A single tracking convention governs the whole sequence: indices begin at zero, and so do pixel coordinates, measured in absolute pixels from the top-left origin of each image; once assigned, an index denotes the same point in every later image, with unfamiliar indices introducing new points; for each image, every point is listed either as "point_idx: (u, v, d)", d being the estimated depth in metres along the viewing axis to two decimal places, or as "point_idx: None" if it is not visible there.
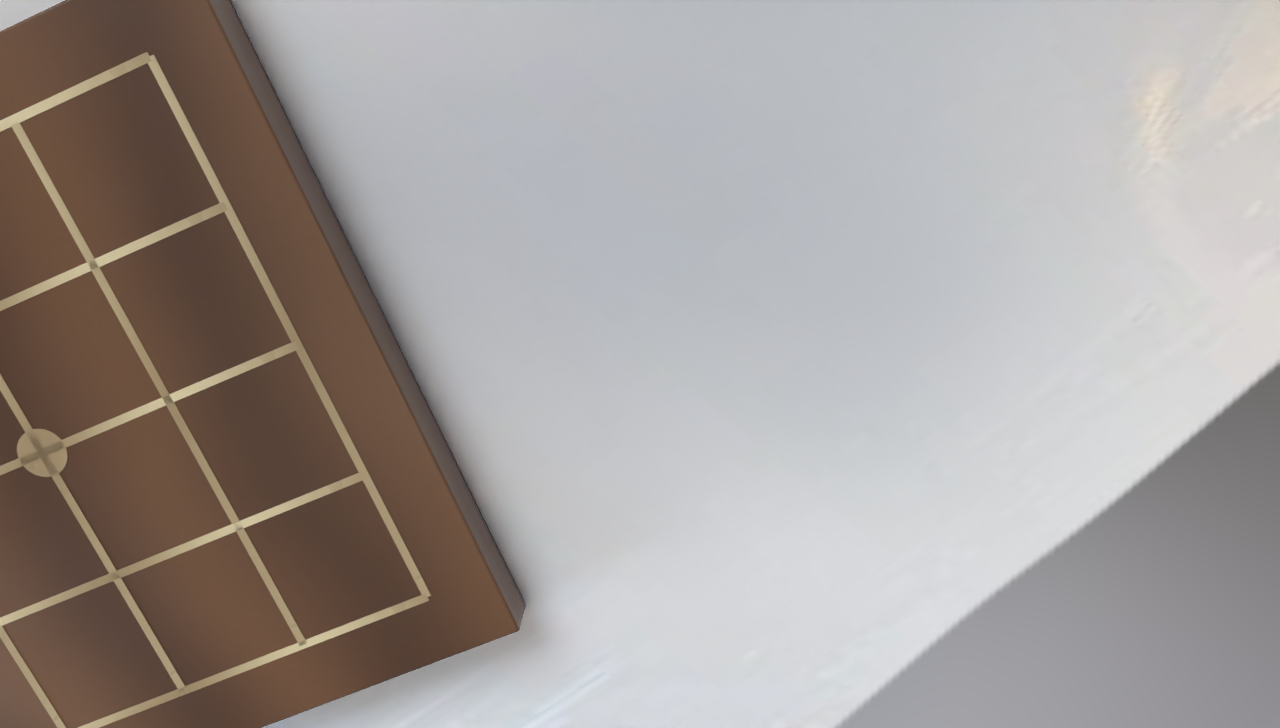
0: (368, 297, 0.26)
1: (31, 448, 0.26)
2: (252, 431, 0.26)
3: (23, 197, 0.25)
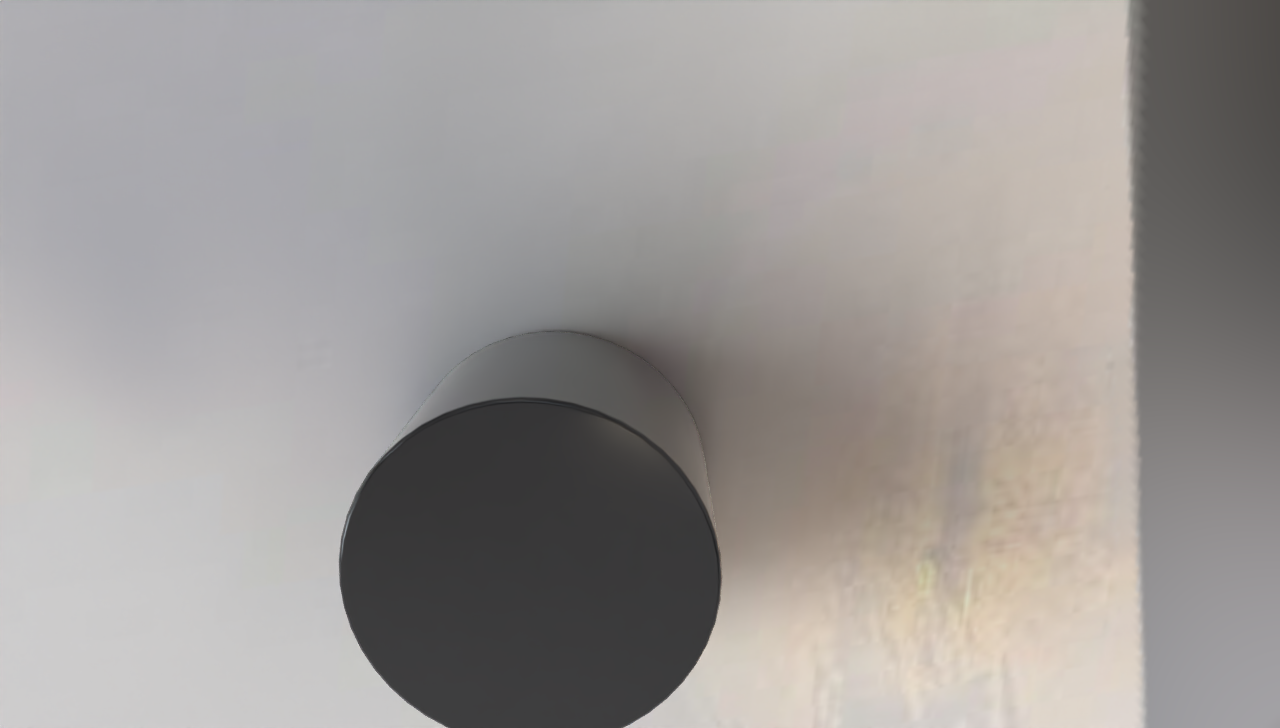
0: None
1: None
2: None
3: None
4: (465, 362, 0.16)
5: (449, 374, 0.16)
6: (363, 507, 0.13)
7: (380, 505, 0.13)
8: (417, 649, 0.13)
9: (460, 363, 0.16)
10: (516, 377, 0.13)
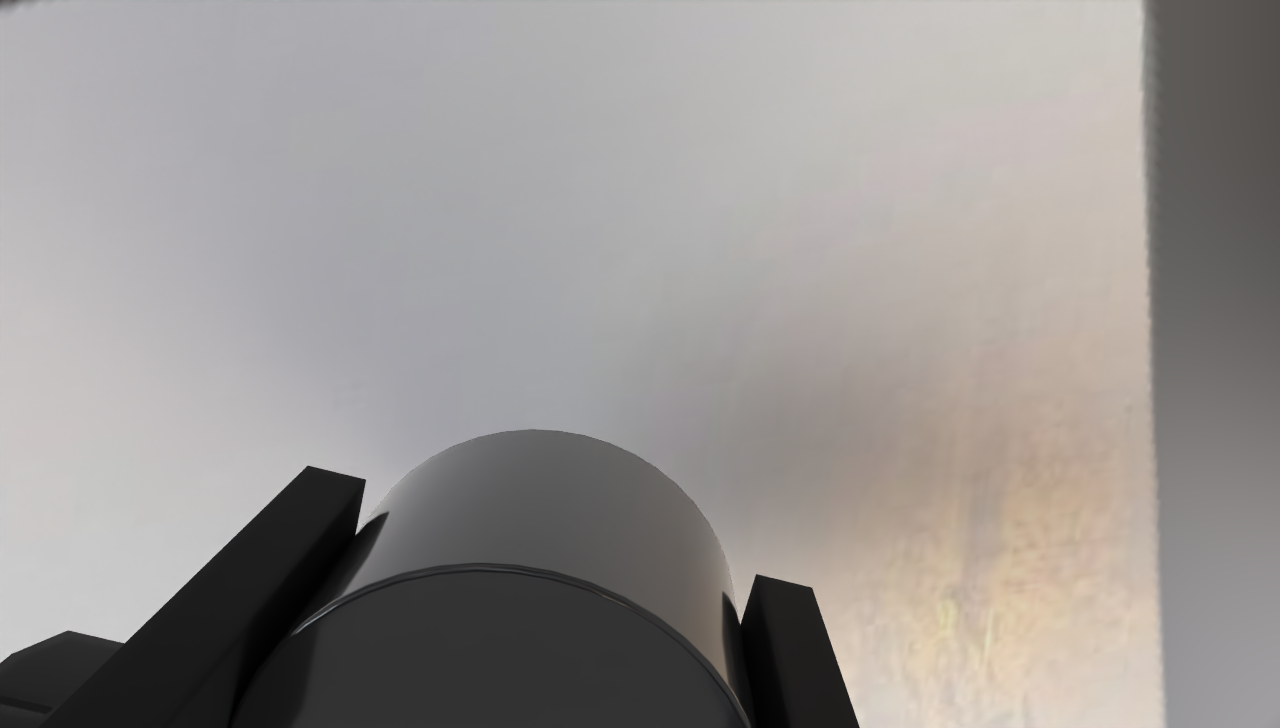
0: None
1: None
2: None
3: None
4: (417, 473, 0.12)
5: (396, 489, 0.12)
6: (250, 716, 0.09)
7: (274, 714, 0.09)
8: None
9: (412, 471, 0.12)
10: (476, 520, 0.09)
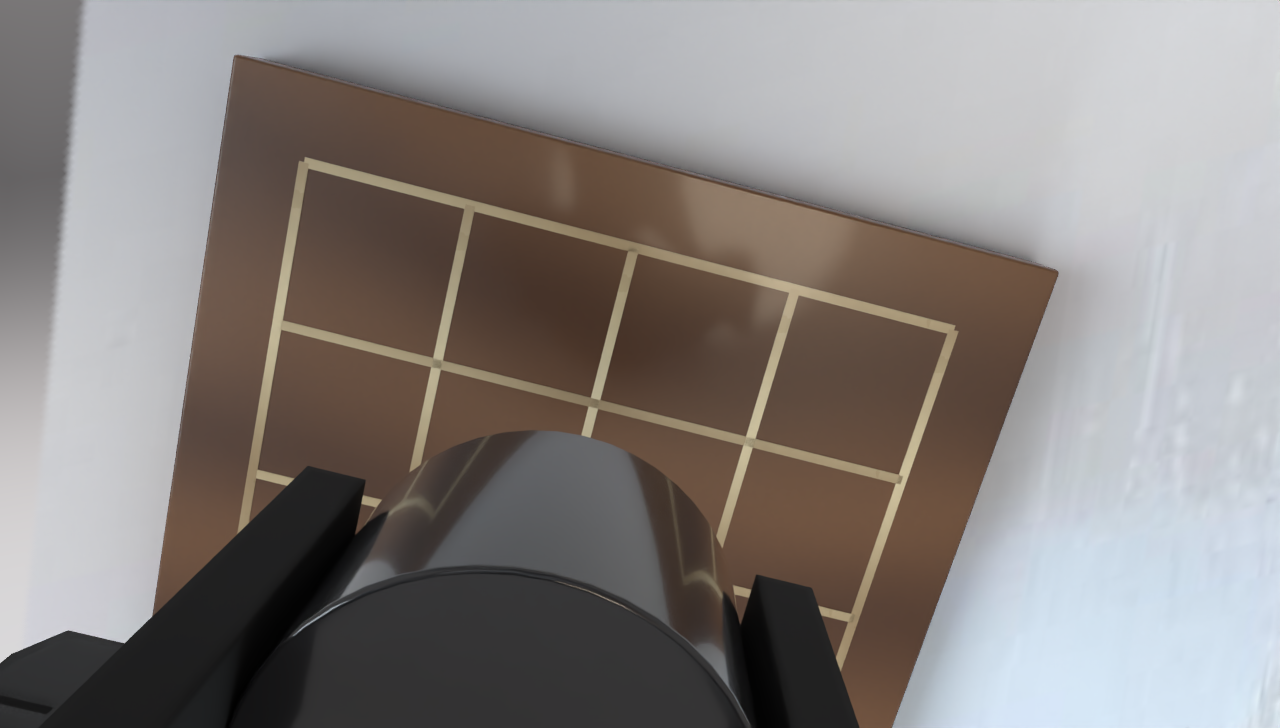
0: (640, 159, 0.23)
1: None
2: (677, 355, 0.23)
3: (342, 371, 0.24)
4: (416, 474, 0.12)
5: (395, 490, 0.12)
6: (249, 718, 0.09)
7: (272, 715, 0.09)
8: None
9: (411, 472, 0.12)
10: (475, 522, 0.09)
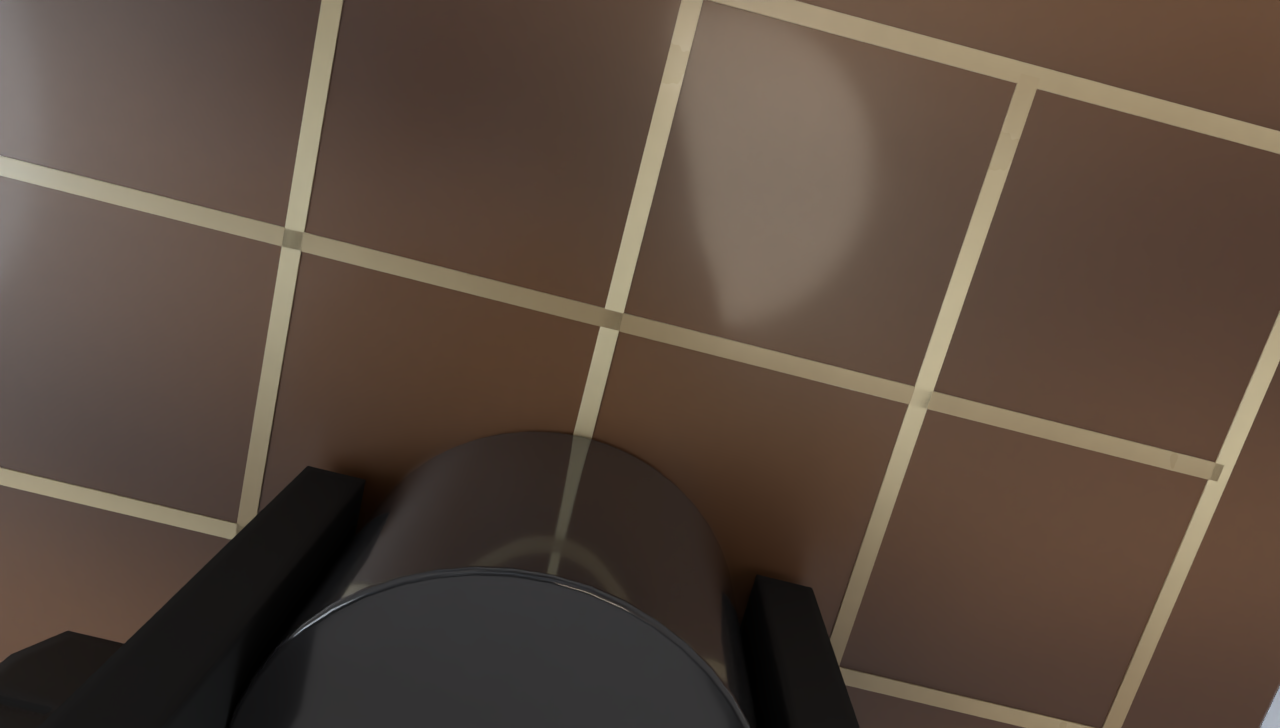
0: None
1: None
2: (782, 219, 0.12)
3: (103, 256, 0.12)
4: (416, 475, 0.12)
5: (394, 491, 0.12)
6: (248, 721, 0.09)
7: (272, 718, 0.09)
8: None
9: (411, 473, 0.12)
10: (474, 523, 0.09)
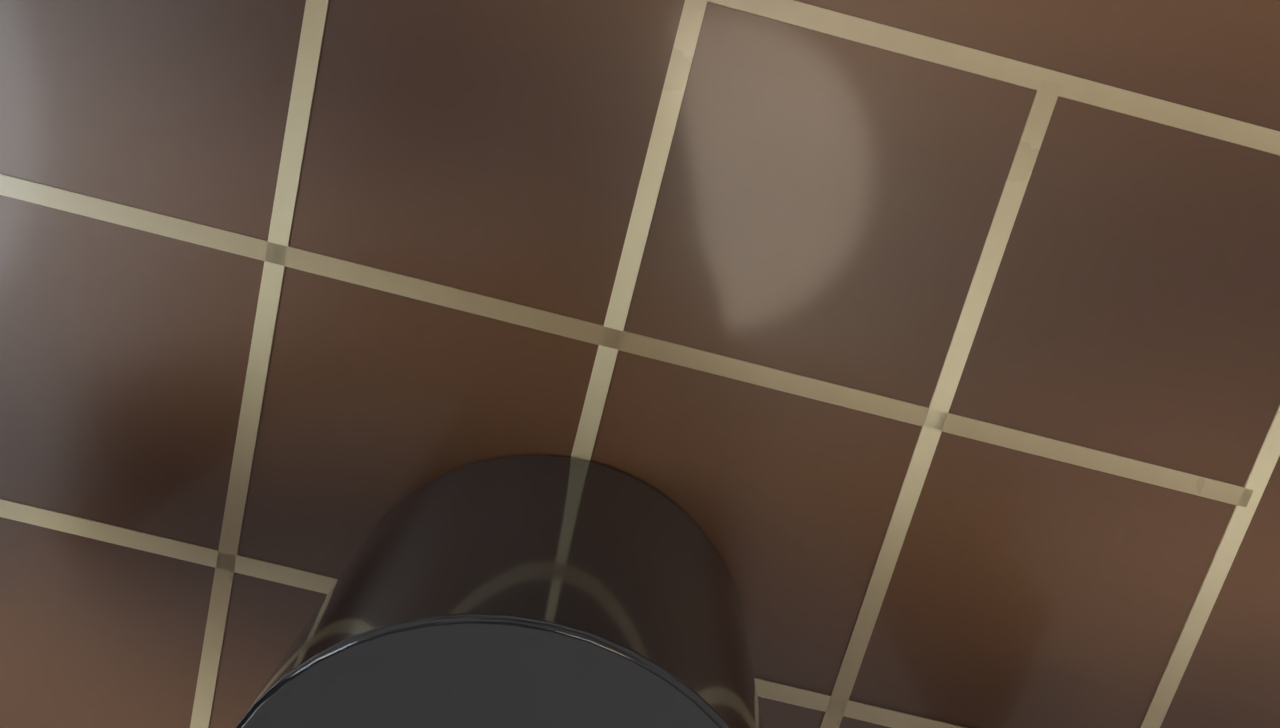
0: None
1: None
2: (789, 232, 0.11)
3: (77, 271, 0.11)
4: (409, 503, 0.11)
5: (387, 520, 0.11)
6: None
7: None
8: None
9: (405, 500, 0.12)
10: (469, 563, 0.09)
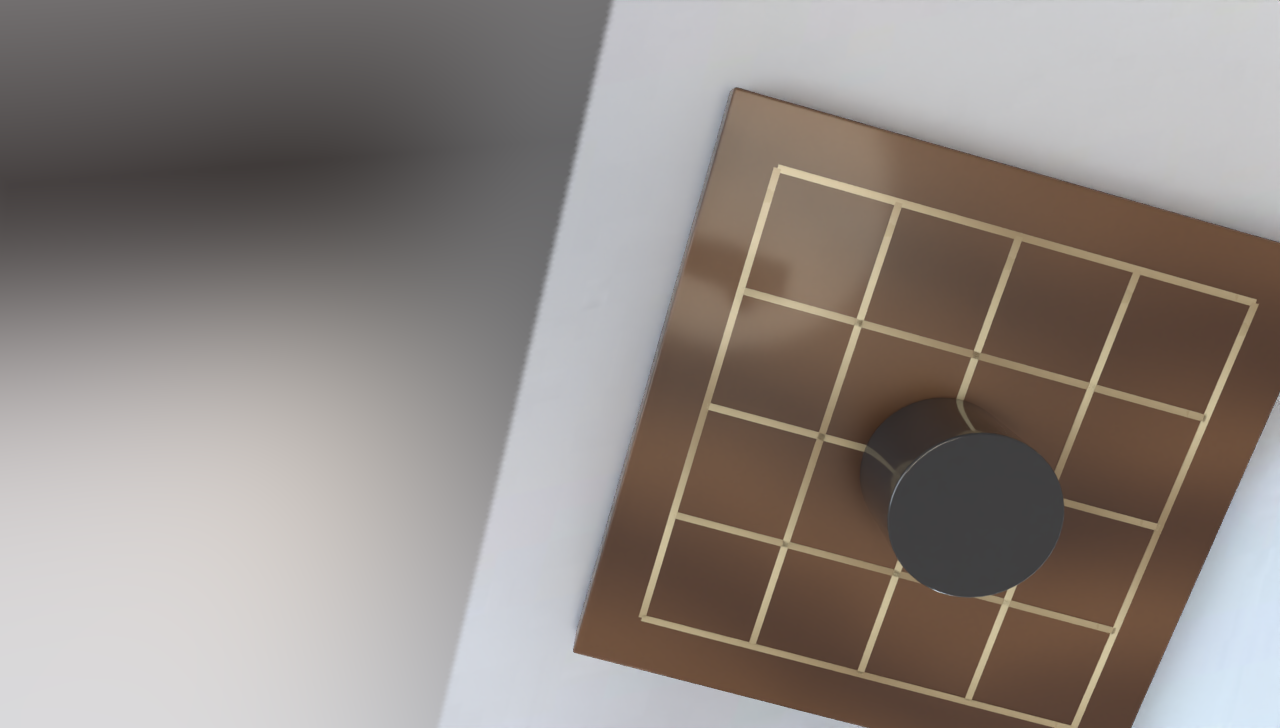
0: None
1: None
2: (1043, 319, 0.31)
3: (785, 327, 0.31)
4: (904, 413, 0.31)
5: (896, 419, 0.31)
6: (905, 481, 0.28)
7: (912, 480, 0.28)
8: (919, 548, 0.28)
9: (896, 413, 0.31)
10: (964, 423, 0.29)
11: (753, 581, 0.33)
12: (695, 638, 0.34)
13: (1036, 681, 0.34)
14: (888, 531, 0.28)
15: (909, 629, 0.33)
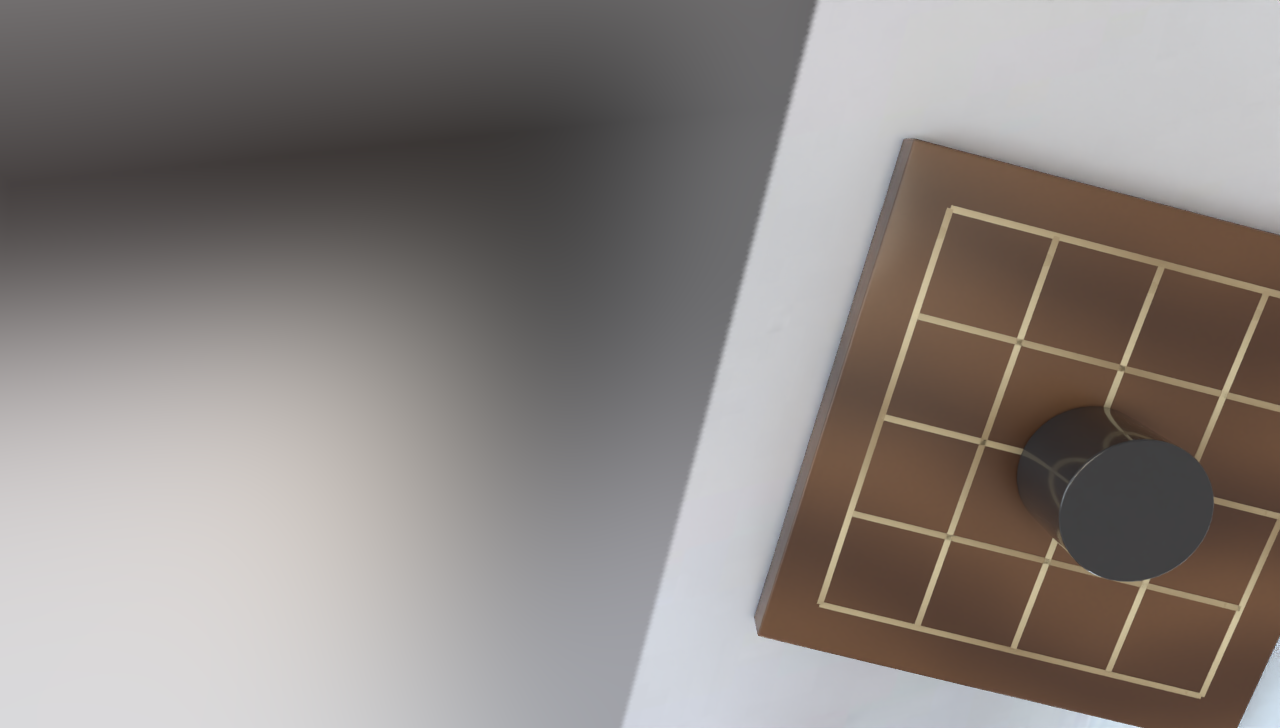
0: None
1: None
2: (1182, 335, 0.35)
3: (954, 347, 0.35)
4: (1059, 420, 0.35)
5: (1052, 426, 0.35)
6: (1075, 482, 0.32)
7: (1082, 481, 0.32)
8: (1086, 540, 0.33)
9: (1051, 420, 0.36)
10: (1124, 430, 0.33)
11: (919, 570, 0.37)
12: (867, 621, 0.38)
13: (1169, 654, 0.38)
14: (1059, 525, 0.33)
15: (1057, 610, 0.38)
